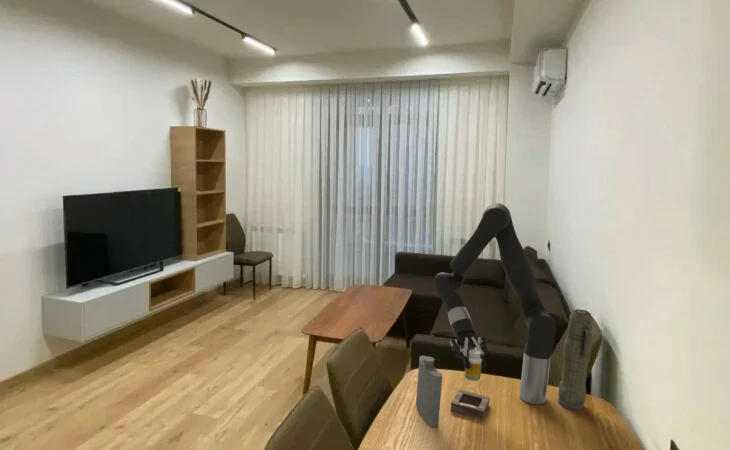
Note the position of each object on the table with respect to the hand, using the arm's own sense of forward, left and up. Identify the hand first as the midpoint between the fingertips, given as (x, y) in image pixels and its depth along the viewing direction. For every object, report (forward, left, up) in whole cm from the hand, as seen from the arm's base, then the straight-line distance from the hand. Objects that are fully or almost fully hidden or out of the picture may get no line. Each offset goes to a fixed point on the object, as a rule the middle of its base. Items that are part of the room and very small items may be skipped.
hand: (476, 367), depth 159 cm
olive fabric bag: (-23, +31, -16) cm, 42 cm away
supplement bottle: (-1, -1, -5) cm, 5 cm away
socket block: (-1, -1, -16) cm, 16 cm away
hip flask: (+11, -14, -16) cm, 24 cm away
